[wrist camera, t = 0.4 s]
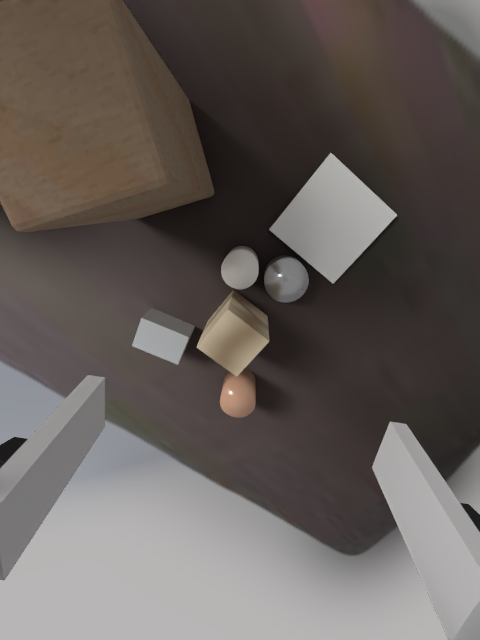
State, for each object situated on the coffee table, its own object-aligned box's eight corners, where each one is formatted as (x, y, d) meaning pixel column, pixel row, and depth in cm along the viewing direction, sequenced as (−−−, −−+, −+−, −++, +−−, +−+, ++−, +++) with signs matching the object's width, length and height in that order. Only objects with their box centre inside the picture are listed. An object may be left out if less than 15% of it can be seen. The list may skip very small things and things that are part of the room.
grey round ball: (255, 278, 39) (255, 284, 37) (282, 246, 38) (284, 249, 35) (286, 303, 40) (288, 310, 37) (313, 272, 39) (318, 278, 36)
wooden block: (216, 195, 36) (170, 185, 17) (135, 220, 38) (12, 235, 19) (188, 95, 33) (95, -48, 14) (101, 126, 34) (-88, 32, 16)
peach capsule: (217, 383, 45) (212, 404, 40) (237, 361, 43) (234, 380, 39) (242, 400, 45) (240, 423, 41) (262, 380, 44) (262, 400, 39)
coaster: (268, 229, 37) (269, 229, 37) (329, 153, 34) (330, 152, 34) (332, 282, 39) (333, 283, 38) (395, 214, 36) (397, 215, 35)
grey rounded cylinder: (219, 265, 39) (213, 273, 34) (239, 238, 38) (236, 243, 33) (244, 285, 40) (242, 296, 35) (265, 260, 38) (266, 268, 34)
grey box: (143, 333, 43) (131, 345, 39) (152, 307, 41) (141, 317, 38) (184, 350, 43) (177, 364, 39) (195, 325, 42) (189, 337, 38)
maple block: (207, 321, 41) (196, 347, 34) (233, 289, 40) (227, 309, 32) (240, 346, 42) (236, 376, 35) (267, 316, 41) (269, 341, 33)
